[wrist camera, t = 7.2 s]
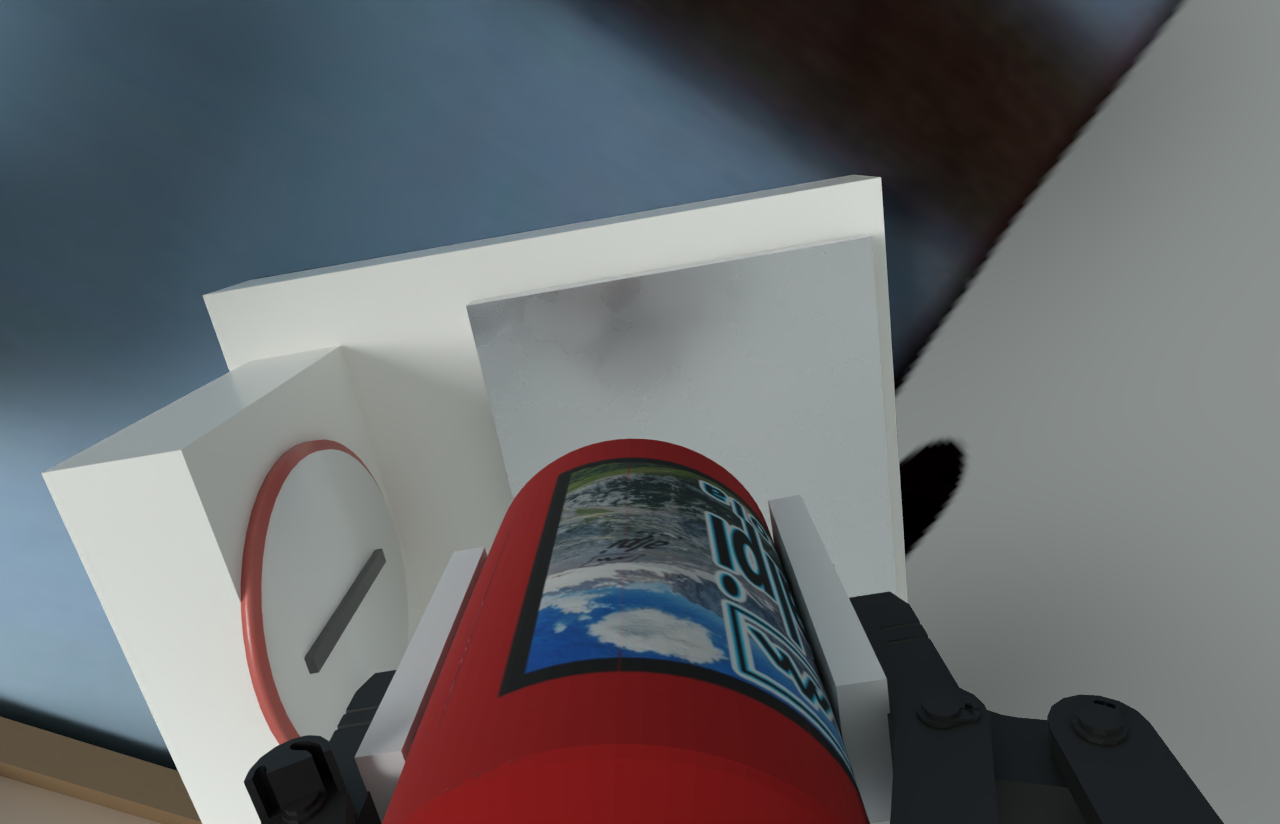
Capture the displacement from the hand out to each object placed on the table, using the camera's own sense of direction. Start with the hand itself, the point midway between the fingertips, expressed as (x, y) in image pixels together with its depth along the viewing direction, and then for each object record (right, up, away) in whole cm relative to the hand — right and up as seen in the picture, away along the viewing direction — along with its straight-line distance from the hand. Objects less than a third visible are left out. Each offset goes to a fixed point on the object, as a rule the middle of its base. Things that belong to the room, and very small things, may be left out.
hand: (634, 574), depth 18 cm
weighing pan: (+3, +1, +16) cm, 16 cm away
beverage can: (0, 0, +1) cm, 1 cm away
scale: (-2, +2, +20) cm, 20 cm away
